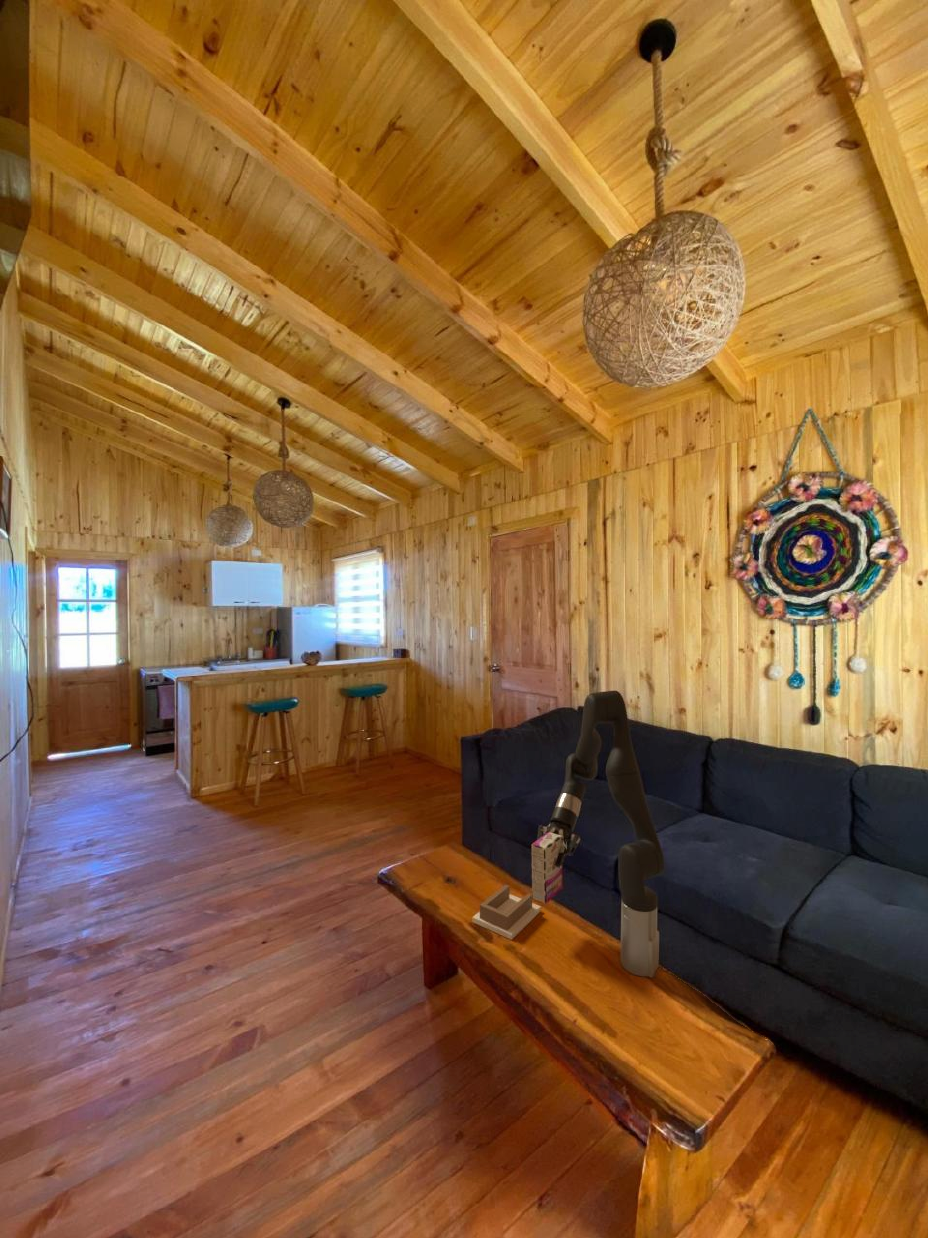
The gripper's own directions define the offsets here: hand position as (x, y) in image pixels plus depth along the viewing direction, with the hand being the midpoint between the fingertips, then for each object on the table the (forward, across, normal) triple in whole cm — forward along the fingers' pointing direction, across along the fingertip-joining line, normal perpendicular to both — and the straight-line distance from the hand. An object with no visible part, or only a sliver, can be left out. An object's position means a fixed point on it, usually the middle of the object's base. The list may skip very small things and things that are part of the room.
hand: (549, 863), depth 155 cm
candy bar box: (+7, 0, +6) cm, 9 cm away
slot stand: (+16, -13, +12) cm, 24 cm away
